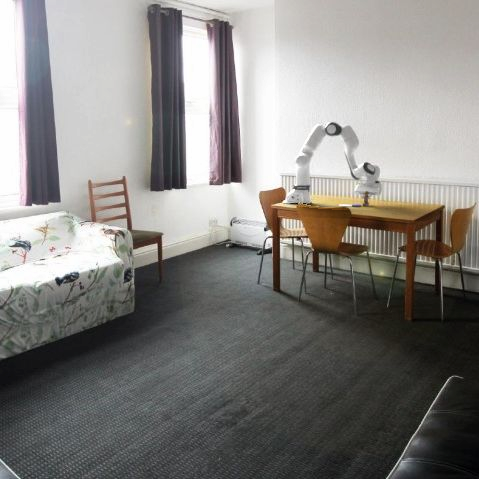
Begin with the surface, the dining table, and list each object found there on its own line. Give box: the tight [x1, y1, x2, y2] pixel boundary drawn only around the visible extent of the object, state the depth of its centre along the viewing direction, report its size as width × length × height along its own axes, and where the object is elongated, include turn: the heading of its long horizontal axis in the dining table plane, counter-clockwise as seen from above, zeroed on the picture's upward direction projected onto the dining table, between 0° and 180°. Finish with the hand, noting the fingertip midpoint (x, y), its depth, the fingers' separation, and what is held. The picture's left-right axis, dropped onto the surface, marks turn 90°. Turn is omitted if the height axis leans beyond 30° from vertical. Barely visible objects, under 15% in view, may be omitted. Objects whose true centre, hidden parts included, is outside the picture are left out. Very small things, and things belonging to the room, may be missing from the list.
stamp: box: [362, 191, 370, 207], centre depth 432 cm, size 4×4×11 cm
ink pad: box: [351, 203, 361, 208], centre depth 433 cm, size 6×8×1 cm
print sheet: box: [339, 203, 353, 208], centre depth 436 cm, size 9×9×1 cm
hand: (365, 198), depth 431 cm, fingers closed on stamp, 3 cm apart
